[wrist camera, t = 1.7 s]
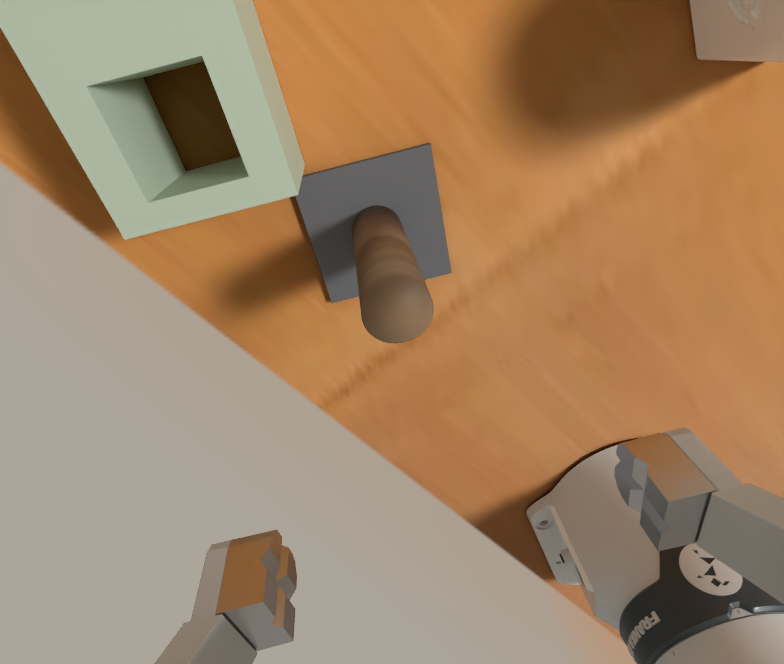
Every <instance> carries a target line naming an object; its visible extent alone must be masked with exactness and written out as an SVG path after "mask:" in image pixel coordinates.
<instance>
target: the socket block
mask: <svg viewBox="0 0 784 664" xmlns="http://www.w3.org/2000/svg"><path fill="white" fill-rule="evenodd" d="M0 28H1V29H2V31H3V33H4V35H5V36H6V38H7V40H8V41H9V43H10V45H11V47H12V48H13V50H14V52H15V53H16V55H17V57H18V58H19V60H20V62H21V64H22V65H23V67H24V69H25V70H26V72H27V74H28V76H29V77H30V79H31V81H32V82H33V84H34V86H35V87H36V89H37V91H38V93H39V94H40V96H41V98H42V99H43V101H44V103H45V105H46V106H47V108H48V110H49V111H50V113H51V115H52V117H53V118H54V120H55V122H56V123H57V125H58V127H59V128H60V130H61V132H62V134H63V135H64V137H65V139H66V140H67V142H68V144H69V146H70V147H71V149H72V151H73V152H74V154H75V156H76V158H77V159H78V161H79V163H80V164H81V166H82V168H83V169H84V171H85V173H86V175H87V176H88V178H89V180H90V181H91V183H92V185H93V187H94V188H95V190H96V192H97V193H98V195H99V197H100V199H101V200H102V202H103V204H104V205H105V207H106V209H107V210H108V212H109V214H110V216H111V217H112V219H113V221H114V222H115V224H116V226H117V228H118V229H119V231H120V233H121V234H122V236H123V238H124V240H126V239H130V238H134V237H138V236H141V235H145V234H149V233H153V232H157V231H161V230H165V229H169V228H172V227H176V226H180V225H184V224H188V223H192V222H196V221H199V220H203V219H207V218H211V217H215V216H219V215H223V214H227V213H230V212H234V211H238V210H242V209H246V208H250V207H254V206H257V205H261V204H265V203H269V202H273V201H277V200H281V199H285V198H288V197H292V196H296V195H298V194H299V189H300V185H301V180H302V176H303V171H304V167H305V164H304V161H303V158H302V155H301V151H300V148H299V145H298V142H297V139H296V136H295V132H294V129H293V126H292V123H291V120H290V117H289V114H288V110H287V107H286V104H285V101H284V98H283V95H282V91H281V88H280V85H279V82H278V79H277V76H276V73H275V69H274V66H273V63H272V60H271V57H270V54H269V50H268V47H267V44H266V41H265V38H264V35H263V32H262V28H261V25H260V22H259V19H258V16H257V13H256V9H255V6H254V3H253V0H0ZM200 62H205V65H206V68H207V70H208V73H209V75H210V78H211V80H212V83H213V86H214V88H215V91H216V93H217V96H218V98H219V101H220V104H221V106H222V109H223V111H224V114H225V116H226V119H227V121H228V124H229V127H230V129H231V132H232V134H233V137H234V139H235V142H236V145H237V147H238V150H239V152H240V155H241V157H237V158H233V159H230V160H226V161H222V162H218V163H214V164H210V165H207V166H203V167H199V168H195V169H191V170H187V171H186V170H185V167H184V165H183V163H182V161H181V159H180V157H179V154H178V152H177V150H176V148H175V146H174V144H173V141H172V139H171V137H170V135H169V133H168V131H167V129H166V126H165V124H164V122H163V120H162V118H161V116H160V113H159V111H158V109H157V107H156V105H155V103H154V100H153V98H152V96H151V94H150V92H149V90H148V87H147V85H146V83H145V81H144V79H143V78H144V77H148V76H152V75H155V74H159V73H163V72H167V71H170V70H174V69H178V68H182V67H185V66H189V65H193V64H197V63H200Z"/></svg>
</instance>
